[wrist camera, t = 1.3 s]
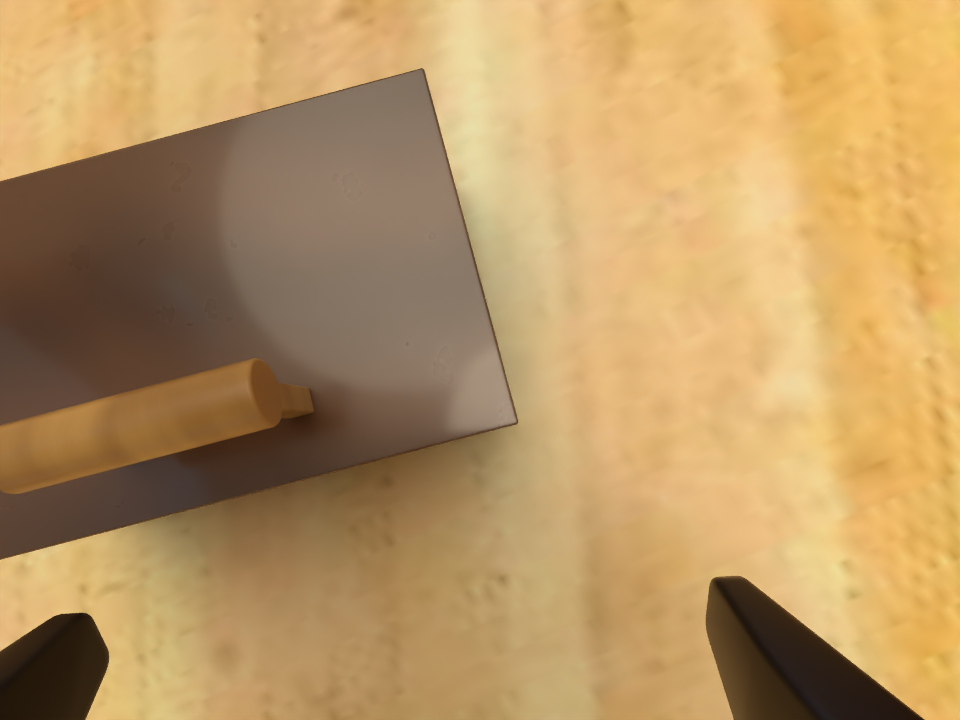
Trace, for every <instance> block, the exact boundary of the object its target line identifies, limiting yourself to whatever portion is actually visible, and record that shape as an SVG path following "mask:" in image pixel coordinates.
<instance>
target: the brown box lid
mask: <svg viewBox="0 0 960 720" xmlns="http://www.w3.org/2000/svg"><path fill="white" fill-rule="evenodd" d="M517 423H518V419H517V415H516V411H515V407H514V404H513V400H512V396H511V392H510V389H509V385H508V381H507V377H506V374H505V370H504V366H503V363H502V359H501V355H500V351H499V348H498V344H497V340H496V336H495V333H494V329H493V325H492V321H491V318H490V314H489V310H488V306H487V303H486V299H485V295H484V291H483V288H482V284H481V280H480V277H479V273H478V269H477V265H476V262H475V258H474V254H473V250H472V247H471V243H470V239H469V235H468V232H467V228H466V224H465V220H464V217H463V213H462V209H461V206H460V202H459V198H458V194H457V191H456V187H455V183H454V179H453V176H452V172H451V168H450V164H449V161H448V157H447V153H446V149H445V146H444V142H443V138H442V134H441V131H440V127H439V123H438V120H437V116H436V112H435V108H434V105H433V101H432V97H431V93H430V90H429V86H428V82H427V78H426V75H425V71H424V69H422V68H421V69H418V70H414V71H410V72H407V73H403V74H399V75H395V76H392V77H388V78H384V79H380V80H377V81H373V82H369V83H365V84H362V85H358V86H354V87H351V88H347V89H343V90H339V91H336V92H332V93H328V94H324V95H321V96H317V97H313V98H310V99H306V100H302V101H298V102H295V103H291V104H287V105H283V106H280V107H276V108H272V109H269V110H265V111H261V112H257V113H254V114H250V115H246V116H242V117H239V118H235V119H231V120H227V121H224V122H220V123H216V124H213V125H209V126H205V127H201V128H198V129H194V130H190V131H186V132H183V133H179V134H175V135H172V136H168V137H164V138H160V139H157V140H153V141H149V142H145V143H142V144H138V145H134V146H130V147H127V148H123V149H119V150H116V151H112V152H108V153H104V154H101V155H97V156H93V157H89V158H86V159H82V160H78V161H75V162H71V163H67V164H63V165H60V166H56V167H52V168H48V169H45V170H41V171H37V172H33V173H30V174H26V175H22V176H19V177H15V178H11V179H7V180H4V181H0V560H1V559H5V558H9V557H13V556H16V555H20V554H24V553H28V552H32V551H35V550H39V549H43V548H47V547H51V546H54V545H58V544H62V543H66V542H70V541H74V540H77V539H81V538H85V537H89V536H93V535H96V534H100V533H104V532H108V531H112V530H115V529H119V528H123V527H127V526H131V525H134V524H138V523H142V522H146V521H150V520H154V519H157V518H161V517H165V516H169V515H173V514H176V513H180V512H184V511H188V510H192V509H195V508H199V507H203V506H207V505H211V504H214V503H218V502H222V501H226V500H230V499H234V498H237V497H241V496H245V495H249V494H253V493H256V492H260V491H264V490H268V489H272V488H275V487H279V486H283V485H287V484H291V483H295V482H298V481H302V480H306V479H310V478H314V477H317V476H321V475H325V474H329V473H333V472H336V471H340V470H344V469H348V468H352V467H355V466H359V465H363V464H367V463H371V462H375V461H378V460H382V459H386V458H390V457H394V456H397V455H401V454H405V453H409V452H413V451H416V450H420V449H424V448H428V447H432V446H436V445H439V444H443V443H447V442H451V441H455V440H458V439H462V438H466V437H470V436H474V435H477V434H481V433H485V432H489V431H493V430H496V429H500V428H504V427H508V426H512V425H516V424H517Z"/></svg>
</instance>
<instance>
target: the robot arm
mask: <svg viewBox="0 0 960 720" xmlns="http://www.w3.org/2000/svg"><path fill="white" fill-rule="evenodd" d="M706 630H707V635H708V638H709V642H710V645H711V648H712V651H713V654H714V658H715V661H716V664H717V667H718V670H719V674H720V677H721V680H722V683H723V686H724V689H725V693H726V696H727V699H728V702H729V705H730V709H731V712H732V715H733V718H734V720H924V719H923V718H922V717H920V716H919V715H918V714H917V713H915V712H914V711H913V710H912V709H910V708H909V707H908V706H907V705H905V704H904V703H903V702H901V701H900V700H899V699H898V698H896V697H895V696H894V695H893V694H891V693H890V692H889V691H888V690H886V689H885V688H884V687H882V686H881V685H880V684H879V683H877V682H876V681H875V680H874V679H872V678H871V677H870V676H869V675H867V674H866V673H865V672H863V671H862V670H861V669H860V668H858V667H857V666H856V665H855V664H853V663H852V662H851V661H850V660H848V659H847V658H846V657H844V656H843V655H842V654H841V653H839V652H838V651H837V650H836V649H834V648H833V647H832V646H831V645H829V644H828V643H827V642H825V641H824V640H823V639H822V638H820V637H819V636H818V635H817V634H815V633H814V632H813V631H812V630H810V629H809V628H808V627H806V626H805V625H804V624H803V623H801V622H800V621H799V620H798V619H796V618H795V617H794V616H793V615H791V614H790V613H789V612H787V611H786V610H785V609H784V608H782V607H781V606H780V605H779V604H777V603H776V602H775V601H774V600H772V599H771V598H770V597H768V596H767V595H766V594H765V593H763V592H762V591H761V590H760V589H758V588H757V587H756V586H755V585H753V584H752V583H751V582H749V581H748V580H747V579H745V578H743V577H741V576H726V577H715V578H713V579H712V580H711V582H710V586H709V595H708V603H707V611H706ZM108 663H109V651H108V648H107V646H106V644H105V642H104V640H103V638H102V636H101V634H100V632H99V630H98V628H97V626H96V624H95V622H94V620H93V618H92V617H91V616H90V615H88V614H87V613H70V614H60V615H56V616H54V617H52V618H50V619H49V620H47V621H46V622H44V623H43V624H41V625H40V626H38V627H37V628H35V629H34V630H32V631H31V632H29V633H28V634H26V635H24V636H23V637H21V638H20V639H18V640H17V641H15V642H14V643H12V644H11V645H9V646H8V647H6V648H5V649H3V650H2V651H0V720H85V719H86V717H87V715H88V712H89V710H90V708H91V705H92V703H93V701H94V698H95V696H96V694H97V691H98V689H99V687H100V684H101V682H102V680H103V677H104V675H105V673H106V670H107V667H108Z"/></svg>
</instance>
